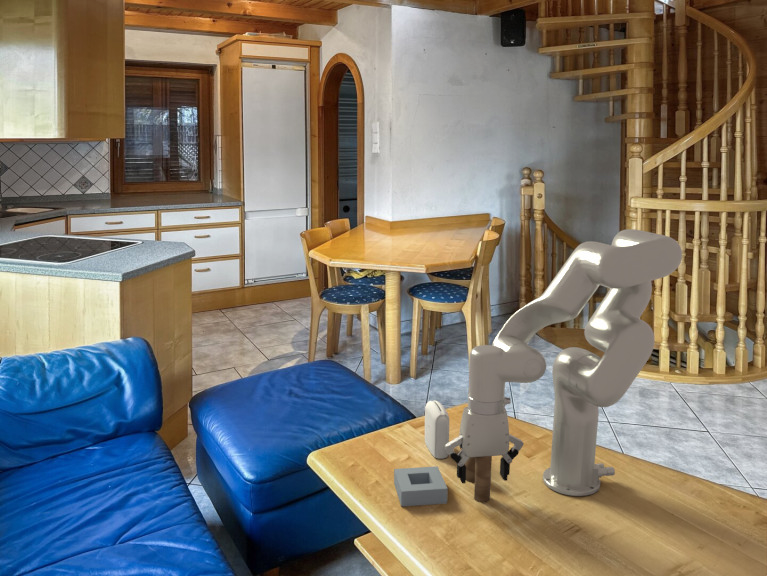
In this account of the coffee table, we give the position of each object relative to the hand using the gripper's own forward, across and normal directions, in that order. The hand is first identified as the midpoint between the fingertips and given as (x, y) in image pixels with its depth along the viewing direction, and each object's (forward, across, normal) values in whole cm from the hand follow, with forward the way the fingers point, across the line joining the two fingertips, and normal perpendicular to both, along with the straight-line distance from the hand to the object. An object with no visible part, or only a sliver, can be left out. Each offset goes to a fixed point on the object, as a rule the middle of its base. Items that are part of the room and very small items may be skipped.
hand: (482, 478), depth 147 cm
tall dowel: (+5, 0, 0) cm, 5 cm away
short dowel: (+5, 0, -9) cm, 10 cm away
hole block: (+5, +13, -4) cm, 14 cm away
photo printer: (+5, +5, -24) cm, 25 cm away
